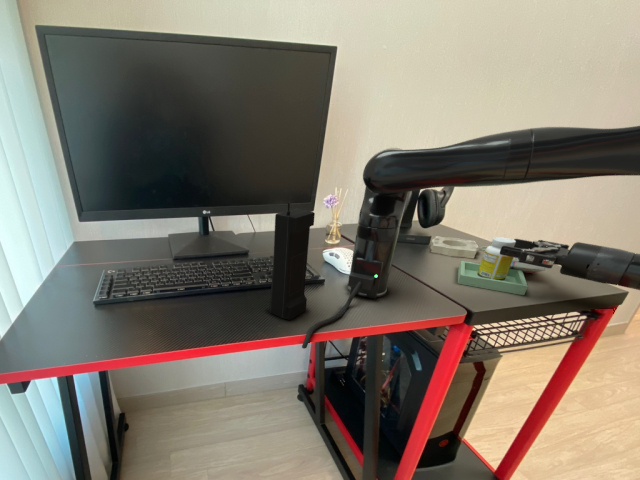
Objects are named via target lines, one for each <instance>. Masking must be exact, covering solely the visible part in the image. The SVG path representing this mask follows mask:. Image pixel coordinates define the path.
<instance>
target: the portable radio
mask: <svg viewBox="0 0 640 480" xmlns="http://www.w3.org/2000/svg"><path fill="white" fill-rule="evenodd" d="M286 204H287V210H285V211H281V212H277V213H275V215H274V216H275V217H274V238H273V239H274V240H273V258H272V259H273V261H272V270H271V283H270V284H271V287H270V298H269V307H268V308H269V313H270V314H272V315H275V316H276V317H279V318H281V319H284V320H288V321H291V320H293V319H294V318H296V317H298V316H299V315H301V314H302V313H304V312H305V311H306V310H307V303H308V302H307V301H308V299H307V297H306V295H305V290H306V289H305V288H306V277H307V265H308V255H309V243H310V242H309V241H310V230H311V227H312V226H314V224H315V215H316V213H315V212H314V211H312V210H307V209H302V208H296V207H295V208H293V209H290V206H291V201H287V202H286Z"/></svg>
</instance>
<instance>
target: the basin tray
mask: <svg viewBox="0 0 640 480" xmlns="http://www.w3.org/2000/svg"><path fill="white" fill-rule="evenodd" d="M480 264H481V263H477V262H470V261H465V260H460V263H459V266H458V270H457V284H458V285H464V286H469V287H474V288H480V289H487V290H491V291H498V292H503V293H509V294H514V295H519V296H520V295H521V296H525V294H526V292H527V289H528V288H529V285H528V283H527V280H526V278H525V274H524V272H522V270H518V269H512V268H509V271H508V273H507V276H506V278H505V280H504V281H501V280H495V279H489V278H483V277H477V273H478V270H479V267H480Z"/></svg>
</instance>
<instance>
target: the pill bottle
mask: <svg viewBox="0 0 640 480" xmlns="http://www.w3.org/2000/svg"><path fill="white" fill-rule="evenodd" d="M515 243H516V241H515V240H514V238H509V237H502V236H501V237H500V236H496V237H493V238H492V240H491V245H488V246H486V247H487V248H486V250H485V249H484V250H485V251H484V253H483V256H482V259H481V262H480V263H479V264H480V267H479V270H478V273H477V277H483V278H489V279H495V280H501V281H504V280H505V278H506V276H507V273H508V271H509V268H510V265H511V263H512V260H513V258H514V257H510V256H505V255H501V254H500V250H501V248H502V246H511V247H514V246H515Z"/></svg>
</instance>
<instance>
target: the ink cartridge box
mask: <svg viewBox="0 0 640 480" xmlns="http://www.w3.org/2000/svg"><path fill="white" fill-rule="evenodd" d="M487 247H488V246H480V247H478V249H477V250H476V251H477V252H485V250H486V248H487ZM527 257H529V255H528V256H527ZM518 261H519V260H518V258H515V257H514V258H513V260H512V263H511V265H510V268H512V269H518V270H522V272H523V273H527V274H535V273H540V272H544V271H546V268H545V267H540V266H535V265H531V264H526V263H520V262H518Z"/></svg>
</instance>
